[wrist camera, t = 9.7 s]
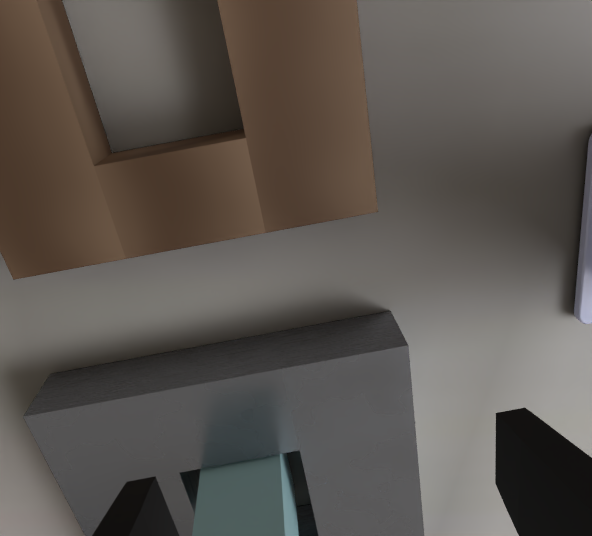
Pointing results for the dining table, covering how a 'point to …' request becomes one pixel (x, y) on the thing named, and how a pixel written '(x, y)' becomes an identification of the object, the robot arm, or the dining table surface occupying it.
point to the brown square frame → (181, 141)
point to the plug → (247, 499)
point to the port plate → (246, 424)
